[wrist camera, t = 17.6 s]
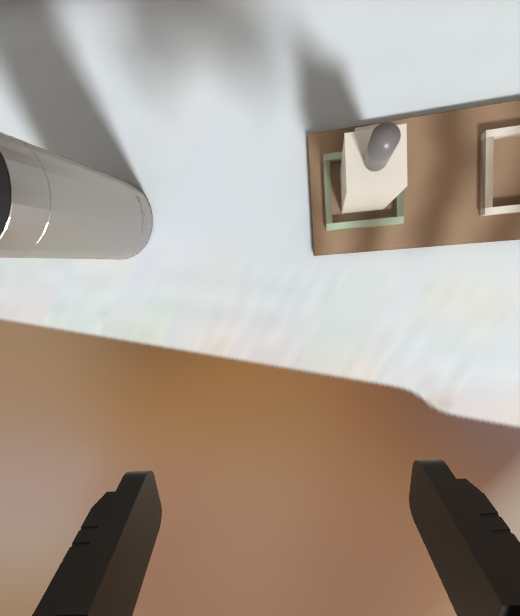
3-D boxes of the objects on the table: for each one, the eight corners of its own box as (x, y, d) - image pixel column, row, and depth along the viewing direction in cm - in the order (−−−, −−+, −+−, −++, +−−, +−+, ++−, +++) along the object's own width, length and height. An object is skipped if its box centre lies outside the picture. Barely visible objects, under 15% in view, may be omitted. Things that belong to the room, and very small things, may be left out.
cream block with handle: (341, 213, 32) (350, 178, 19) (339, 166, 32) (347, 94, 18) (383, 209, 31) (424, 169, 18) (382, 160, 31) (423, 80, 17)
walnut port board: (314, 255, 34) (313, 255, 32) (308, 137, 33) (307, 130, 31) (582, 234, 29) (598, 232, 27) (589, 92, 27) (607, 80, 26)
